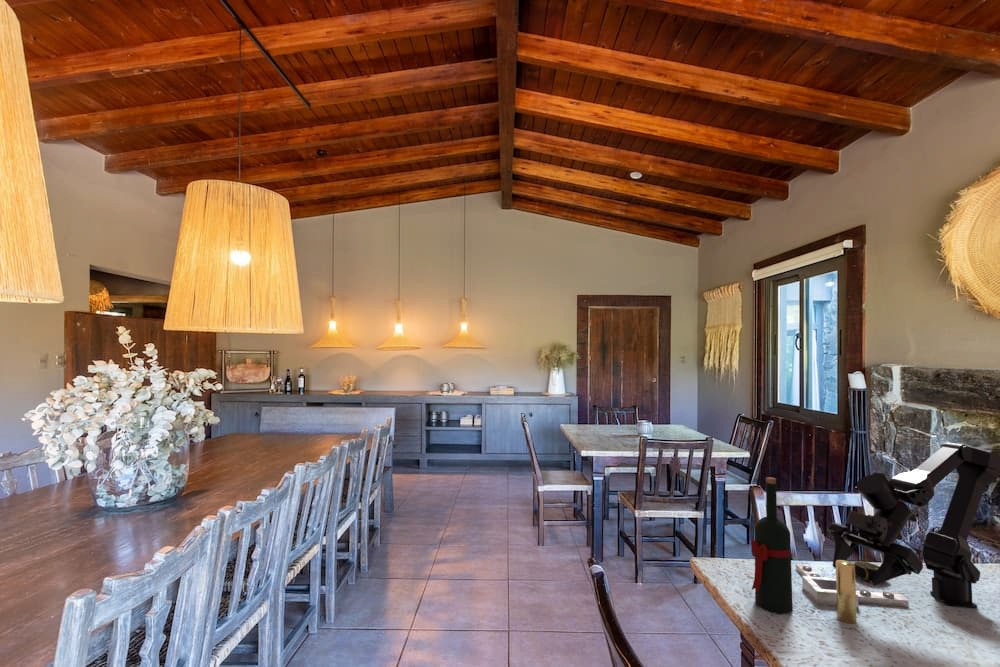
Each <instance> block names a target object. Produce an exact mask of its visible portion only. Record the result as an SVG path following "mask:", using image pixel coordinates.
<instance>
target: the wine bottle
mask: <svg viewBox="0 0 1000 667" xmlns="http://www.w3.org/2000/svg"><path fill="white" fill-rule="evenodd" d="M765 494H766V495H765V496H766V497H765V499H766V502H765V505H766V508H765V509H766V516H763V517H762V518H759V519H758V520H757V521H756V522H755V525H754V527H753V528H754V539H752V540H751V543H750V544H751V545H750V547H751V548H750V549H751V555H752V557H754V578H753V584H752V586H751V591H753V590H754V594H755V596H754V597H755V598H754V600H755V605H756V606H758V608H760V609H761V610H764V611H766V612H768V613H772V614H778V615H787V614H791V613H792V612H793V611H794V610H793V609H794V607H793V606H794V605H793V604H794V603H793V582H792V581H793V578H792V577H793V576H792V550H791V549H792V547H791V546H792V545H791V532H790V529H789V527H788V526H787V525H786V522H784V520H783V521H782V520H781V519H780V518H778V510H777V508H778V507H777V506H778V503H777V478H775V477H771V476H769V477H768V476H767V477H765Z"/></svg>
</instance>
